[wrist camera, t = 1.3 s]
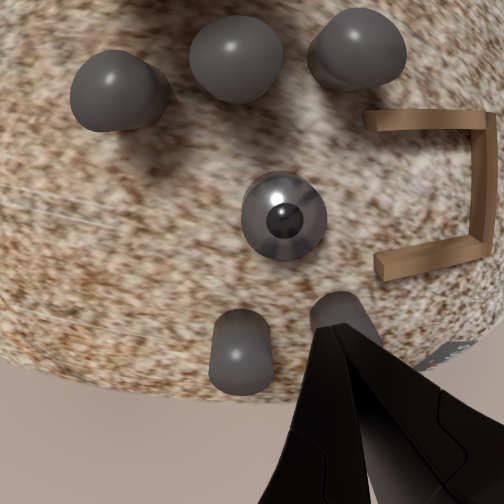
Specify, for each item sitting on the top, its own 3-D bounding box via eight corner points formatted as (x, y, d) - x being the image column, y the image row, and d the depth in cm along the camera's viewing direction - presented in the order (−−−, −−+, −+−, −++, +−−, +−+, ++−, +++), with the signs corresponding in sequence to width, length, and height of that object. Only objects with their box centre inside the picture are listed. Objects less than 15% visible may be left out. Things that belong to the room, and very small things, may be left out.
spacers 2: (362, 286, 21) (385, 323, 17) (361, 330, 23) (380, 369, 18) (207, 313, 21) (200, 356, 17) (220, 354, 23) (217, 398, 19)
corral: (479, 111, 16) (495, 112, 14) (477, 246, 20) (490, 255, 18) (363, 110, 16) (374, 110, 15) (373, 269, 20) (383, 281, 19)
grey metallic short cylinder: (311, 165, 18) (322, 172, 15) (320, 236, 20) (330, 252, 17) (235, 178, 18) (233, 187, 16) (249, 249, 20) (250, 267, 17)
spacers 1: (364, 31, 14) (397, 10, 10) (376, 91, 16) (413, 85, 12) (102, 77, 15) (65, 68, 11) (113, 136, 16) (78, 143, 12)
